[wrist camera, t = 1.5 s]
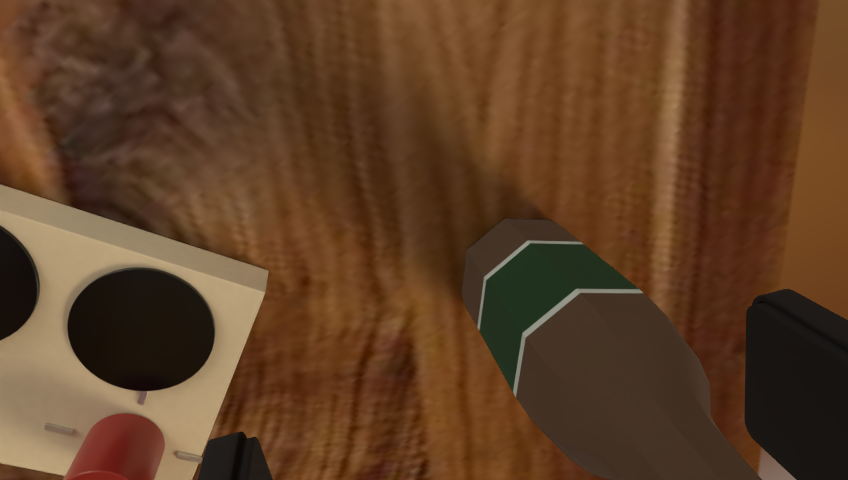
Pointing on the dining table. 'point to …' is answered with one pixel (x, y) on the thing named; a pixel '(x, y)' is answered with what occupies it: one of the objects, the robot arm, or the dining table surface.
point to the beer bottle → (593, 358)
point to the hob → (66, 376)
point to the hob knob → (119, 450)
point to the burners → (118, 321)
